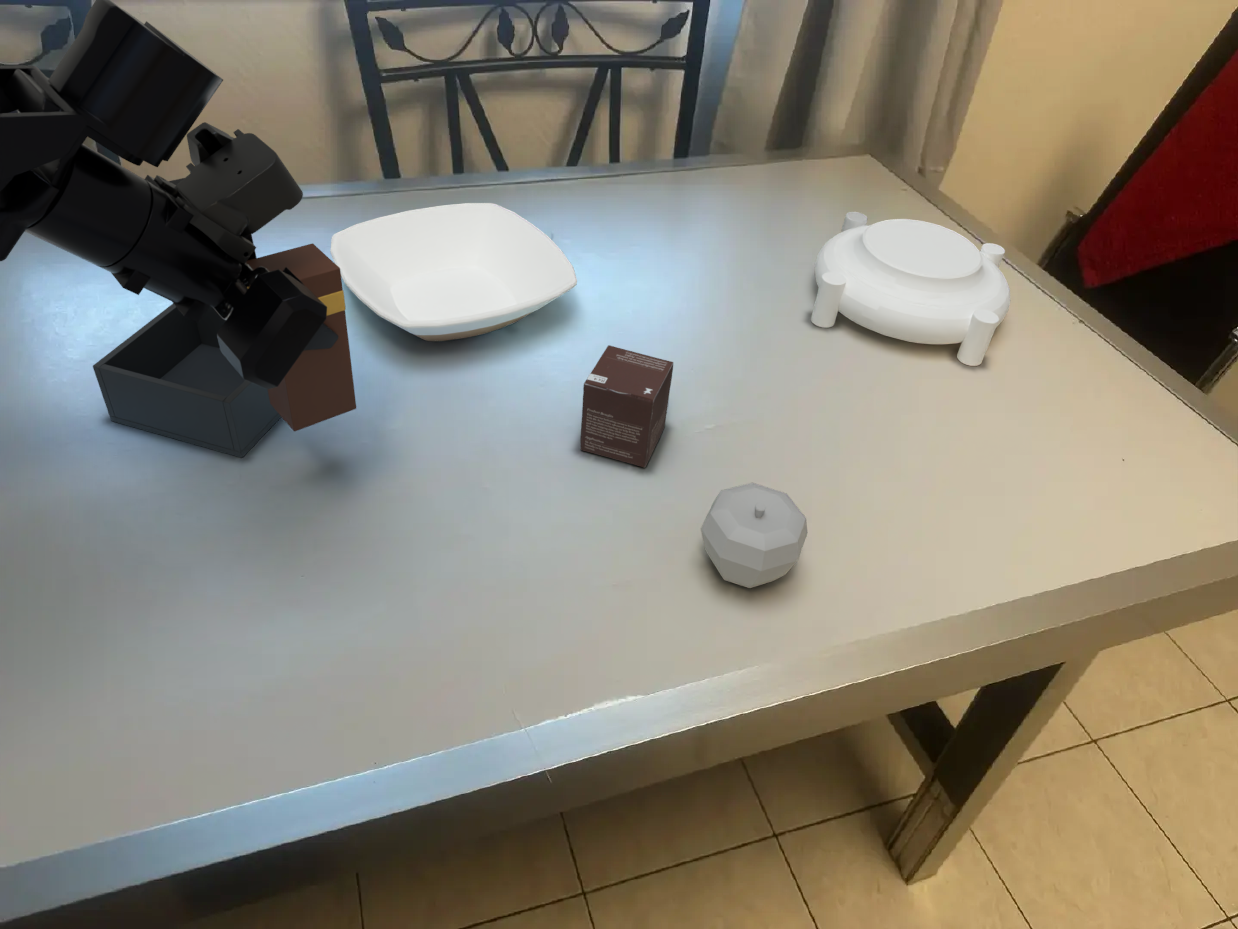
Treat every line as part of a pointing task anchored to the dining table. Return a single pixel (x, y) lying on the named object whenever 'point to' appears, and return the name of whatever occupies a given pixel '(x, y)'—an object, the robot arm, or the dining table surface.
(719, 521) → the apple
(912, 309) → the round stand with pegs
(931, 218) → the dining table surface
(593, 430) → the box
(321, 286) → the chocolate carton
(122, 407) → the open storage bin
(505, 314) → the bowl
